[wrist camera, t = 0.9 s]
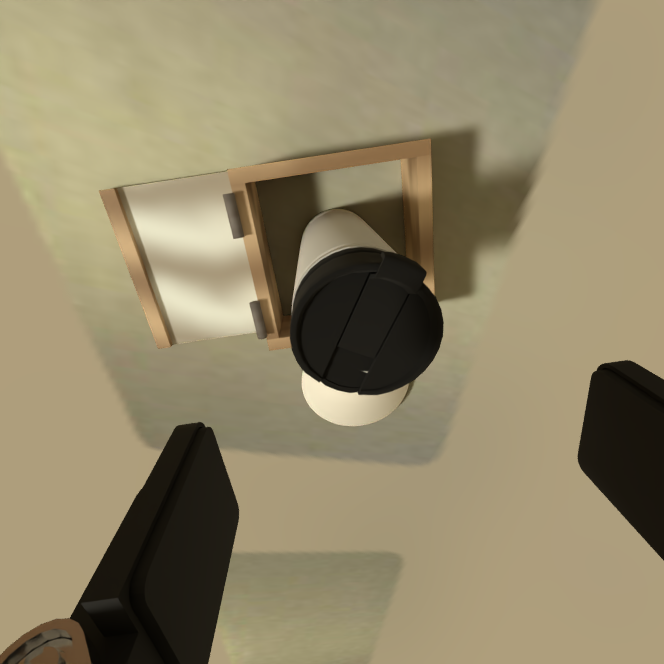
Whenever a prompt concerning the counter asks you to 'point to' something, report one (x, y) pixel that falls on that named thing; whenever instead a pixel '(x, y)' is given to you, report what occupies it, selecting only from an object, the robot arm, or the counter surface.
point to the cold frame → (237, 243)
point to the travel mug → (360, 309)
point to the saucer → (349, 403)
